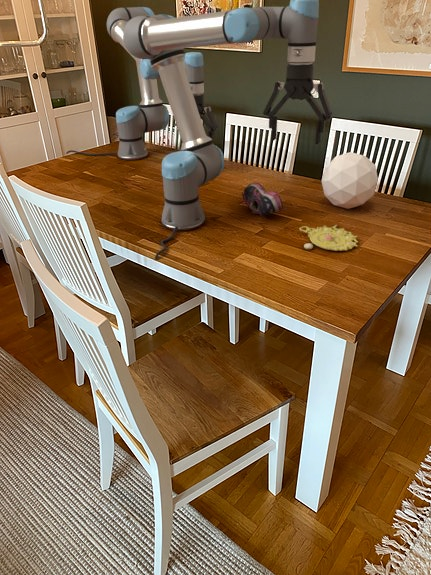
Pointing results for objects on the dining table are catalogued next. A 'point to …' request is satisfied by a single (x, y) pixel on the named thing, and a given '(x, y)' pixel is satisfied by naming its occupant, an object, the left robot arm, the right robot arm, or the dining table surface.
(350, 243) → the decorative object
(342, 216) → the dining table surface
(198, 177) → the right robot arm
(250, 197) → the athletic shoe
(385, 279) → the dining table surface
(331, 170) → the sphere
